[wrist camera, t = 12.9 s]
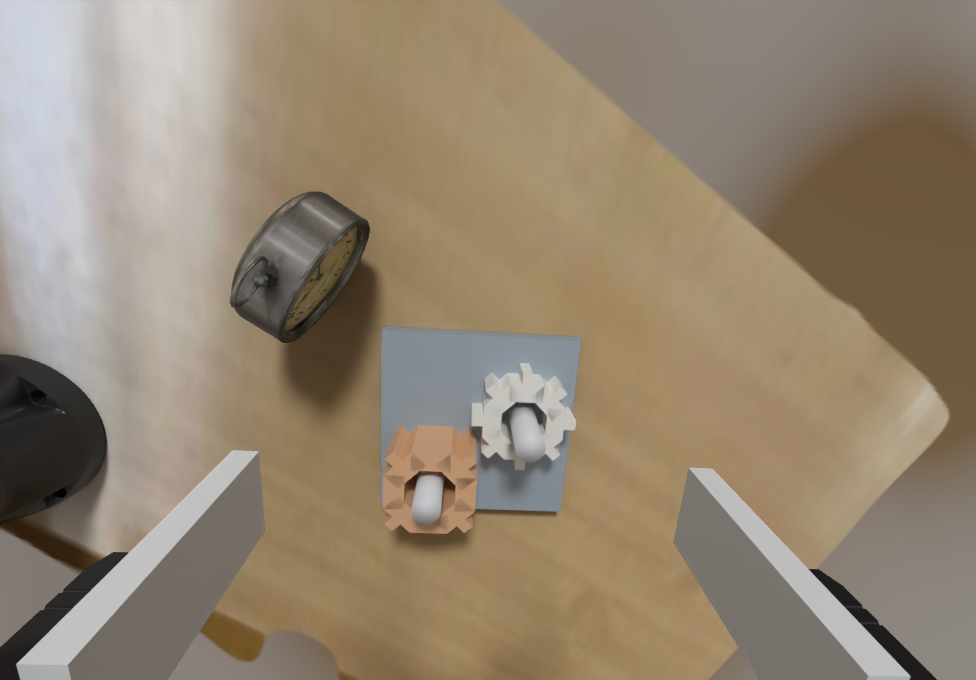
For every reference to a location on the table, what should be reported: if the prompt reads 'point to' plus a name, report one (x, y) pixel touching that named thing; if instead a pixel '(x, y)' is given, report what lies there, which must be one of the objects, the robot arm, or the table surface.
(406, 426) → the gear board
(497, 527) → the table surface
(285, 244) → the alarm clock
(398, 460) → the loose gear
